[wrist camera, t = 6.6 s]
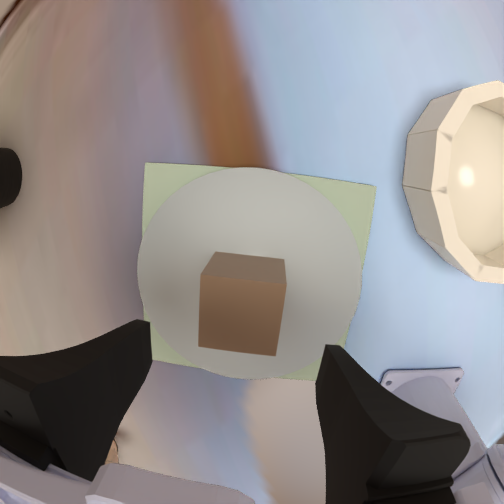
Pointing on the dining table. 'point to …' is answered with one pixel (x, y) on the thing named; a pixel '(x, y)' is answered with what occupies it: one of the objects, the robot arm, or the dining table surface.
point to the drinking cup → (9, 176)
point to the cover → (249, 273)
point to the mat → (337, 192)
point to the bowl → (460, 179)
